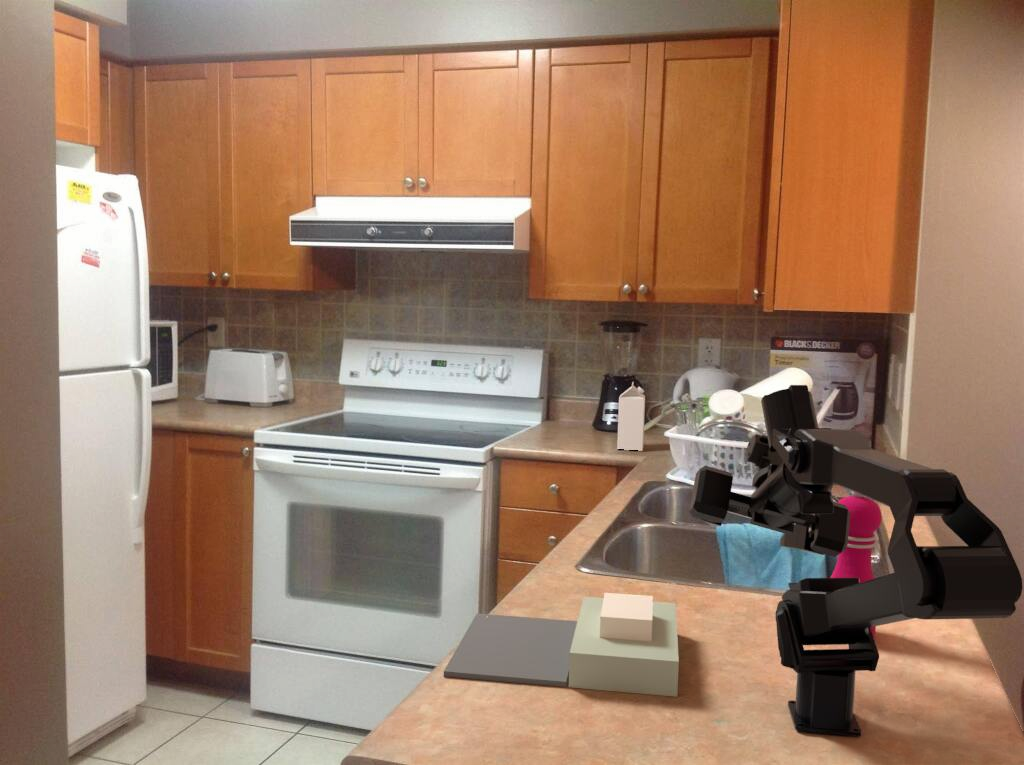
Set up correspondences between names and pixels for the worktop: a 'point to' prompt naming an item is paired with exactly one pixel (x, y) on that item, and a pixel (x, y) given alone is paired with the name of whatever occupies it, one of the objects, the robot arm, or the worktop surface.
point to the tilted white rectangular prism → (626, 617)
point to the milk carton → (631, 419)
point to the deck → (625, 654)
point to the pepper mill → (859, 540)
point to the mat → (514, 650)
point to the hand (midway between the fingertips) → (746, 532)
